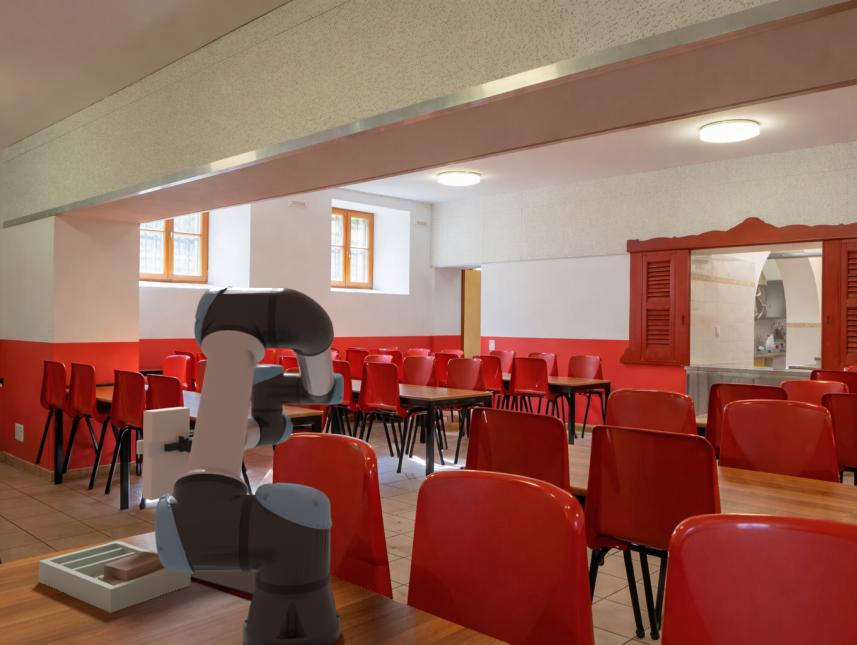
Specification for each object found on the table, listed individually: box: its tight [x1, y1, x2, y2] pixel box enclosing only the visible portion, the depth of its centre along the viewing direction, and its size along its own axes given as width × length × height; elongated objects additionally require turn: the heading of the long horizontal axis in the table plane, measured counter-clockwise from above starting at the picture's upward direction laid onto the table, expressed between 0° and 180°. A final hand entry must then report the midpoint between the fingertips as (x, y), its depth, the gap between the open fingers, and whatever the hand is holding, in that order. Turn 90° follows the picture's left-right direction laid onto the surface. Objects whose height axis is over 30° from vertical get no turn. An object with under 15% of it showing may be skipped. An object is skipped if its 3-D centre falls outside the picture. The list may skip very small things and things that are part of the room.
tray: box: [38, 540, 192, 614], centre depth 134 cm, size 24×16×4 cm, turn 55°
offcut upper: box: [104, 551, 164, 582], centre depth 131 cm, size 6×9×2 cm, turn 153°
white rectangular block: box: [142, 406, 191, 501], centre depth 150 cm, size 3×9×18 cm, turn 145°
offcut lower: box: [98, 568, 165, 586], centre depth 131 cm, size 7×10×2 cm
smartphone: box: [191, 571, 255, 600], centre depth 139 cm, size 12×2×25 cm
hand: (143, 448), depth 146 cm, fingers closed on white rectangular block, 3 cm apart
